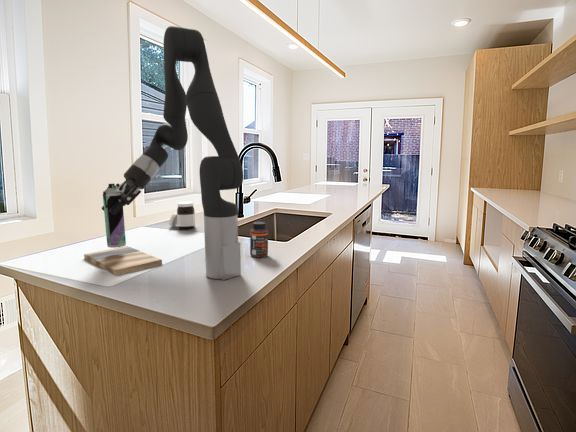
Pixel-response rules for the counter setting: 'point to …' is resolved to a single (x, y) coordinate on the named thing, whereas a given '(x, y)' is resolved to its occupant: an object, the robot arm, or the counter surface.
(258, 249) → the supplement bottle
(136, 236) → the counter surface
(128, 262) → the plywood panel
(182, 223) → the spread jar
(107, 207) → the spray can
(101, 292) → the counter surface
